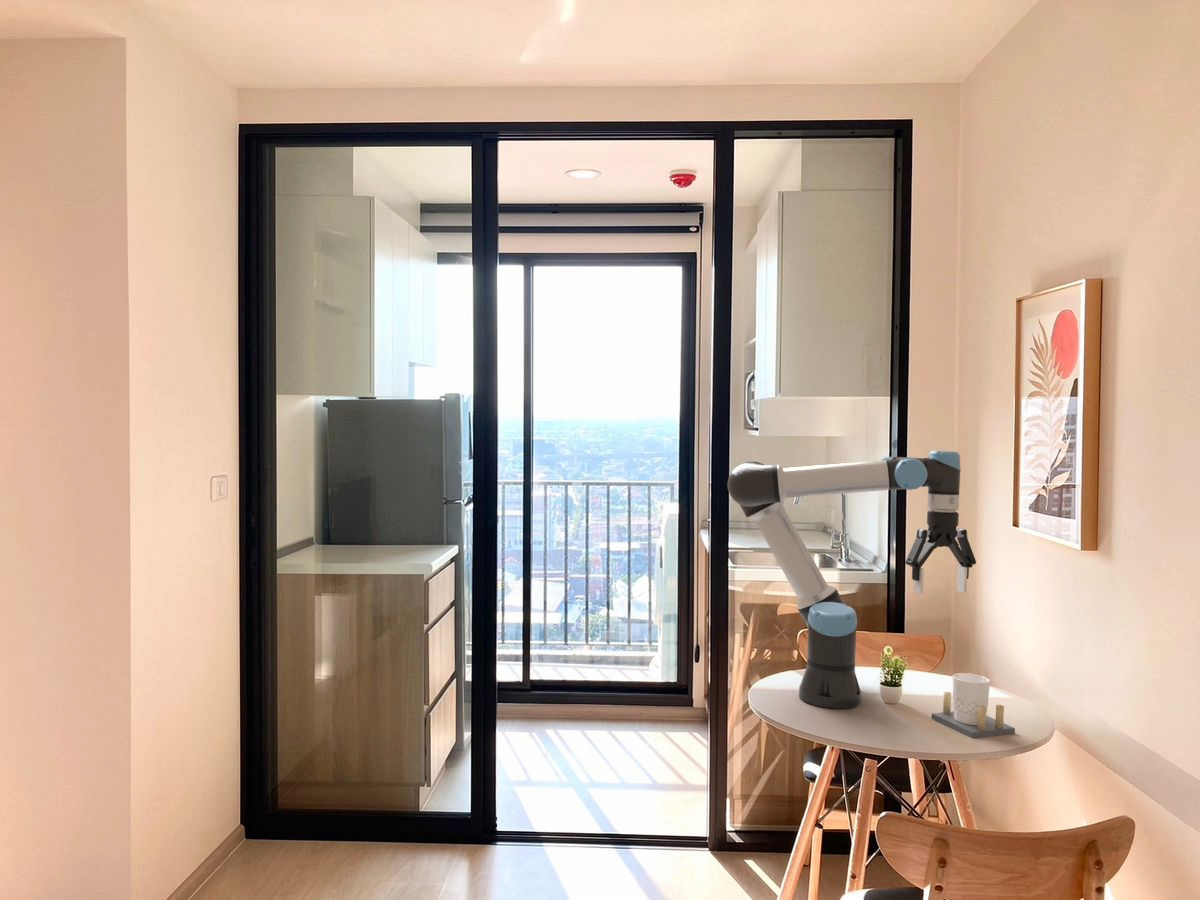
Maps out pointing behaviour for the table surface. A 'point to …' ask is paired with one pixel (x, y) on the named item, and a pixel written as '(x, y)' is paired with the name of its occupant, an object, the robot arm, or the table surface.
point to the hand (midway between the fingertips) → (939, 592)
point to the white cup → (969, 696)
